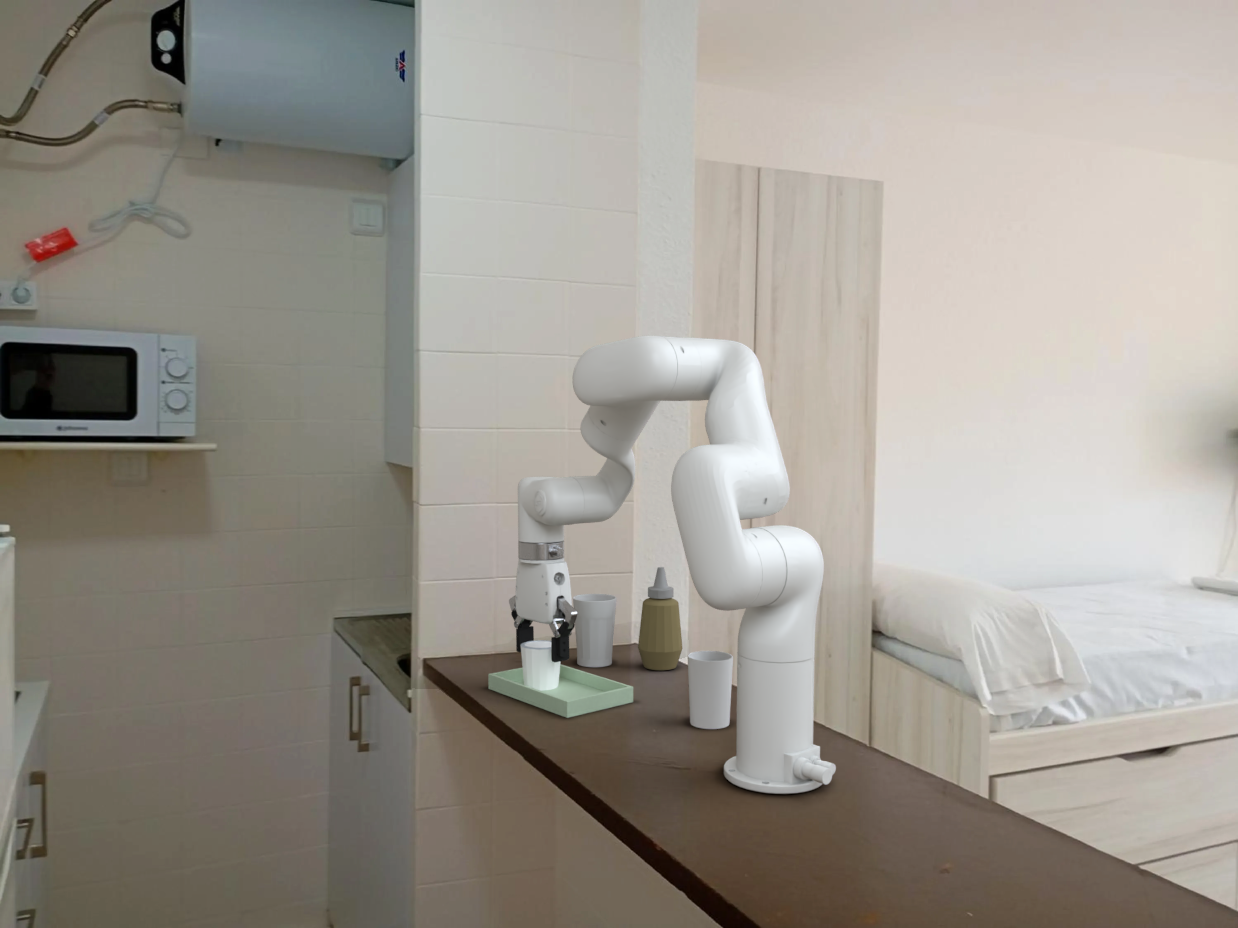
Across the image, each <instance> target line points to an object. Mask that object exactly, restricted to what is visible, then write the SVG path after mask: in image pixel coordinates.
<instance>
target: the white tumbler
mask: <svg viewBox="0 0 1238 928" xmlns="http://www.w3.org/2000/svg"><path fill="white" fill-rule="evenodd" d="M733 665H734V656H733V655H732V654H731V653H728V652H725V651H719V650H718V651H717V650H699V651H698V650H697V651H692V652H689V653H688V654H687V675H688V676H687V677H688V678H687V679H688V700H689V702H688V703H689V723H690V725H691V726H693V727H695V728H699V729H702V730H703V729H704V730H717V729H718V730H719V729H724V728H727V727H729V725H730V722H731V721H730V720H731V705H732V704H731V701H732V685H733V667H734V666H733Z"/></svg>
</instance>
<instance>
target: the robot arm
mask: <svg viewBox="0 0 1238 928" xmlns="http://www.w3.org/2000/svg"><path fill="white" fill-rule="evenodd" d="M762 369H763V368H762V365H761V363H760V360H759V358H758V357H757V355H756V353H755V352H754V351H753V350H752V349H751V348H750V347H749V346H747V345H746V344H744V343H742V342H740V341H737V340H730V339H722V338H708V337H707V338H705V337H692V336H691V337H690V336H688V337H686V336H685V337H683V336H667V335H640V336H639V335H638V336H633V337H628V338H624V339H620V340H616V341H611V342H606V343H602V344H596V345H594V346H592V347H590V348H588V349H587V350H586V351H584V353H583V354H581V355H580V356H579V358H578V360H577V362H576V363H575V366H574V369H573V372H572V388H573V392H574V394H575V396H576V398H577V399H578V400H579V401H580V402H581V403H583V404H584V405H587V406H589V407H588V409H587V411H586V412H585V414H584V416H583V418H582V419H581V422H580V429H579V430H580V435H581V436H582V437H581V438H583V440H584V442H585V443H586V444H587V446H588V447H590V449H592V450H593V451H595V452H596V453H597V454H599V455H600V456H602V457H604V458H606V460H605V462H604V463H603V465H602V467H601V468H600V470H599V471H598V473H597V474H596V475H578V476H576V475H575V476H563V477H557V476H556V477H555V476H527V477H523V478H522V479H520V480H519V482H518V485H517V533H518V535H517V536H518V537H517V538H518V543H517V544H518V545H517V546H518V547H517V548H518V550H517V552H518V553H517V554H518V556H517V557H518V558H517V559H518V561H517V568H516V576H515V577H516V578H515V595H513V596H512V597H510V598H509V599H508V604H509V607H510V608H509V609H510V611H511V614H510V615H511V618H512V619H513V621H514V622H513V626H514V629H515V633H516V634H515V639H516V640H515V649H516V652H517V653H521V644H522V643H524V642H528V641H535V638H534V637H535V635H534V633H535V632H534V630H535V628H534V626H533V625H532V623H533V622H535V623H539V624H544V625H548V626H549V628H550V630H551V632H552V634H553V636H551V638H550V641H551V657H552V662H560V661H561V662H565V661H569V660H570V637H571V636H572V635H573V630H574V629H575V621H576V618H577V611H576V610H575V609H574V606H573V597H572V585H571V577H570V572H569V567H568V562H567V561H566V560H565V526H571V525H576V524H577V525H578V524H593V523H602V522H605V521H607V520H609V519H611V518H612V517H613V516H615V514H616V513H617V512H618V511H619V510H620V509H621V507H622V506H623V504H624V503H625V501H626V499H627V498H628V497H629V495H630V493H631V491H632V490H633V488H634V484H635V479H636V470H637V469H636V468H637V467H636V456H635V454H634V451H633V447H634V445H635V443H636V442H637V440H638V438H639V437H640V435H641V434H642V433H643V431H644V428H645V427H646V425H647V424H648V422H649V420H650V419H651V417H652V415H653V414H654V412H655V411H656V409H657V408H658V406H659V404H660V403H661V401H662V402H688V401H689V402H691V401H693V402H694V401H695V402H696V401H697V402H700V401H701V402H702V401H707V403H706V407H705V413H704V427H705V431H706V435H707V439H708V441H709V444H701V445H697V446H693V447H691V448H689V449H688V450H686V451H685V452H684V453H682V454H681V456H680V457H679V458H678V460H677V462H676V464H675V465H674V468H673V471H672V474H671V483H670V492H671V493H670V494H671V501H672V507H673V511H674V515H675V519H676V524H677V527H678V531H679V534H680V535H679V536H680V539H681V543H682V547H683V551H684V555H685V559H686V563H687V567H688V570H689V574H690V577H691V580H692V584H693V586H694V588H695V590H696V592H697V594H698V595H699V597H700V598H701V600H702V601H703V602H704V603H705V604H706V605H708V606H709V607H711V608H713V609H716V610H719V611H725V612H726V611H727V612H729V611H738V610H744V611H743V615H742V617H741V620H740V623H739V628H738V635H737V652H736V655H737V657H736V743H735V745H736V750H735V751H736V752H735V753H736V754H735V756H732V757H730V758H729V759H728V760H726V761H725V762H724V764H723V776H724V778H725V779H726V780H728V782H729V783H731V784H732V785H734V786H737V787H739V788H741V789H745V790H748V791H751V792H756V793H763V794H773V795H791V794H792V795H793V794H801V793H806V792H810V791H813V790H816V789H818V788H819V787H821V786H822V785H829V784H830V783H831V782H832V779H833V776H834V774H835V773H836V770H837V766H836V764H835V763H833V762H829V761H826V760H822V759H821V746H820V745H816V744H814V717H815V716H814V711H815V704H814V703H815V656H816V655H815V654H816V653H815V651H816V650H815V649H816V625H817V613H818V605H819V601H820V597H821V592H822V586H823V581H824V573H825V560H824V555H823V552H822V549H821V547H820V544H819V543H818V542H817V540H816V538H815V537H813V536H812V535H811V534H810V533H809V532H807V531H806V530H804V529H802V528H799V527H796V526H794V525H793V526H792V525H785V524H784V525H783V524H782V525H781V524H779V525H778V524H777V525H766V526H755V527H750V528H742V523H741V521H742V520H753V519H760V518H766V517H769V516H773V515H775V514H777V513H779V512H781V511H782V510H783V509H784V508H785V506H786V505H787V504H788V502H789V499H790V493H791V485H790V480H789V475H788V471H787V467H786V464H785V460H784V456H783V453H782V449H781V446H780V442H779V438H778V435H777V431H776V428H775V425H774V421H773V419H772V414H771V412H770V408H769V405H768V400H767V394H766V393H767V392H766V387H765V386H766V385H765V378H764V374H763V370H762ZM558 625H560V626H558Z"/></svg>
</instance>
